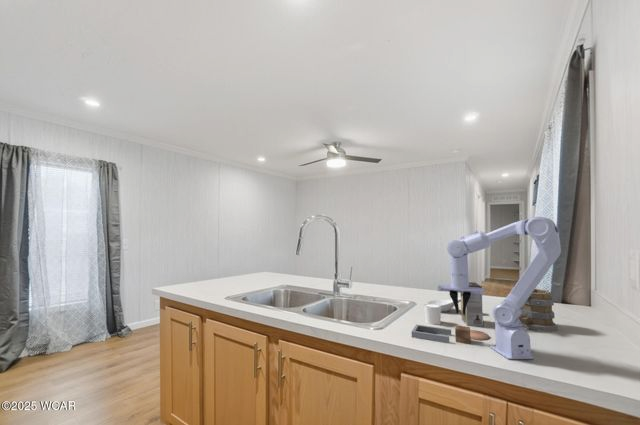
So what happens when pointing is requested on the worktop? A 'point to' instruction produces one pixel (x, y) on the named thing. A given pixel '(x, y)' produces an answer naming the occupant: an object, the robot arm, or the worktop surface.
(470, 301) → the coffee box
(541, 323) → the tankard
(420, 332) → the grey shallow rectangular tray
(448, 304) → the spoon rest
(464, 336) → the block
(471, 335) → the peach dome
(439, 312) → the white cylinder
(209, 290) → the worktop surface
